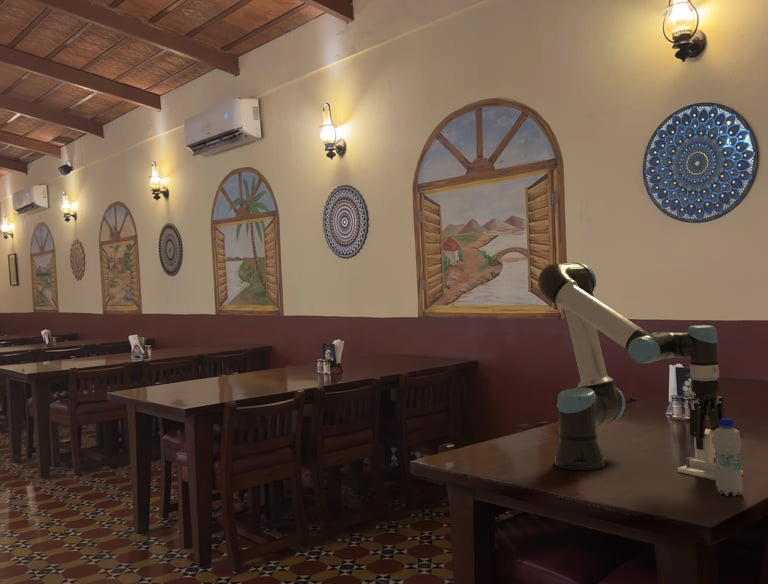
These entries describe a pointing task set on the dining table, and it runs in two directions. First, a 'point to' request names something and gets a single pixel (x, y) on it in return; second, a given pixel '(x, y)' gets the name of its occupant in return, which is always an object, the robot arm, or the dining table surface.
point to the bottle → (728, 458)
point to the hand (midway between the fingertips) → (709, 458)
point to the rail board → (699, 468)
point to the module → (708, 445)
